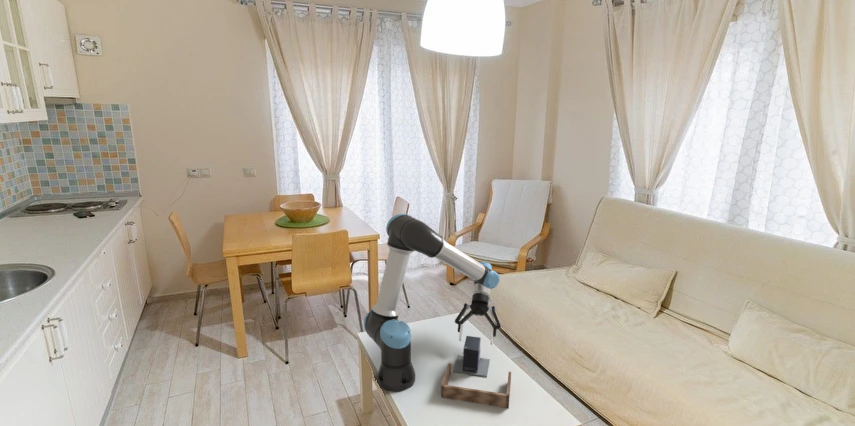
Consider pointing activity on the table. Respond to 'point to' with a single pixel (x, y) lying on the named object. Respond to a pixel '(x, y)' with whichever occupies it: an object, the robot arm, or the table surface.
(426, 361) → the table surface
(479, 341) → the small box
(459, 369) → the rubber mat
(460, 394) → the walnut bay
